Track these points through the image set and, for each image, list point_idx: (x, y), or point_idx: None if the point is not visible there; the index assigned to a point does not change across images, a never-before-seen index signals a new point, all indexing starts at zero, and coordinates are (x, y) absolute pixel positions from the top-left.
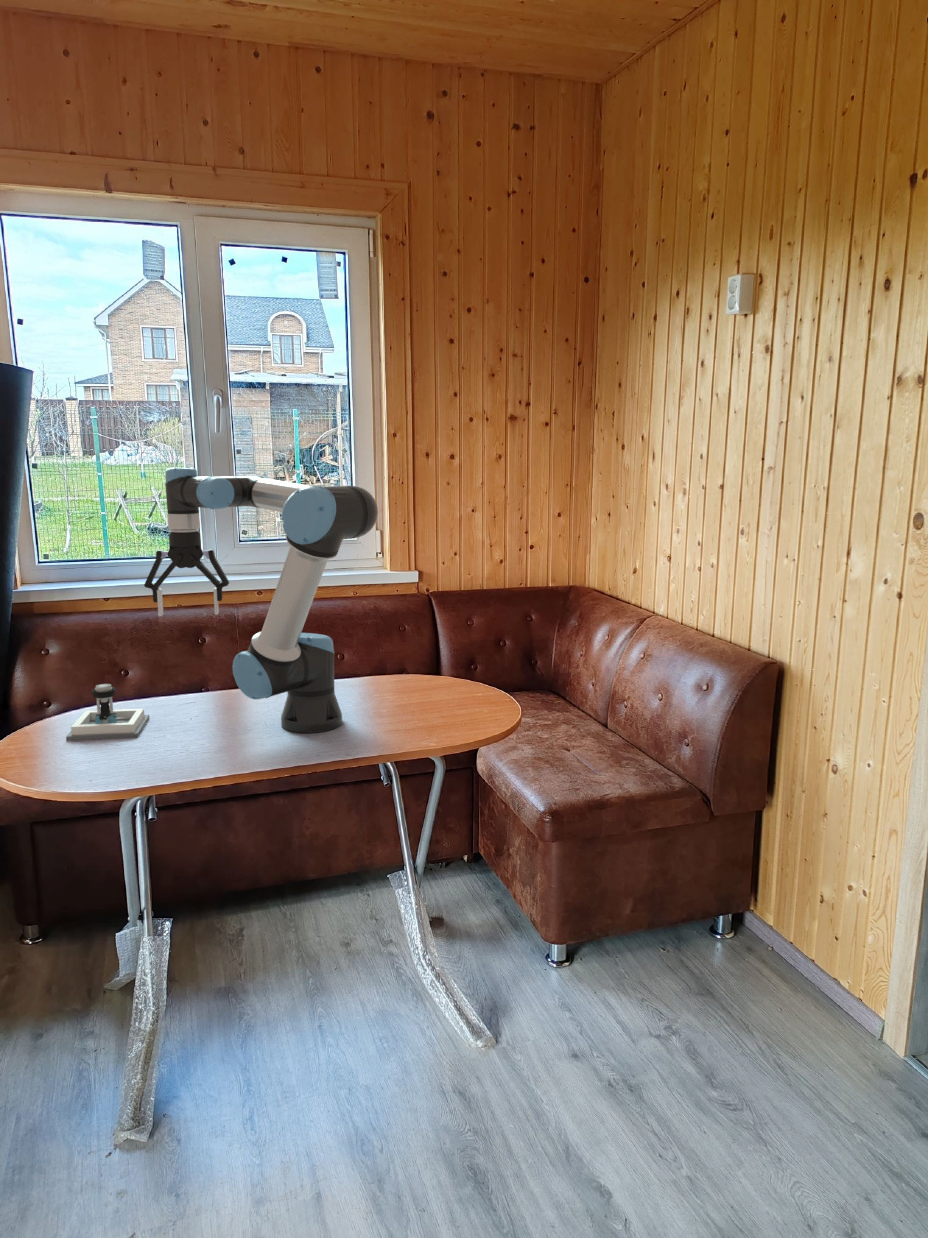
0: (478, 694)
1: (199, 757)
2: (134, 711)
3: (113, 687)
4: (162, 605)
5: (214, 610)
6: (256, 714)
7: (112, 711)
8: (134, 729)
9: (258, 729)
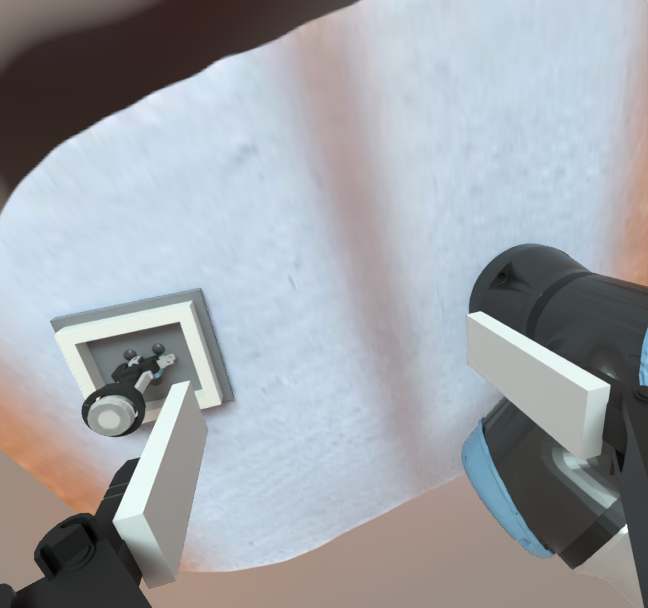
0: None
1: (366, 456)
2: (175, 321)
3: (127, 392)
4: (183, 425)
5: (480, 374)
6: (416, 244)
7: (150, 379)
8: (220, 391)
9: (432, 333)
